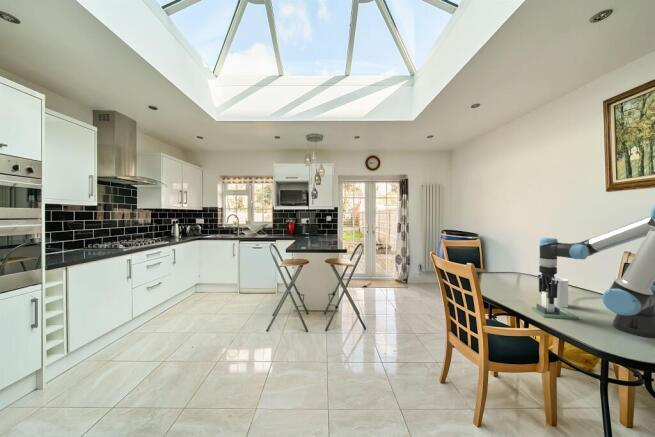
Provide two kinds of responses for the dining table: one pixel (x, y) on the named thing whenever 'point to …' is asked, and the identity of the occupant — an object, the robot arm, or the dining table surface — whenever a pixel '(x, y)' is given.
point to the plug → (544, 301)
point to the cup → (562, 293)
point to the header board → (554, 313)
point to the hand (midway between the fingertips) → (547, 307)
